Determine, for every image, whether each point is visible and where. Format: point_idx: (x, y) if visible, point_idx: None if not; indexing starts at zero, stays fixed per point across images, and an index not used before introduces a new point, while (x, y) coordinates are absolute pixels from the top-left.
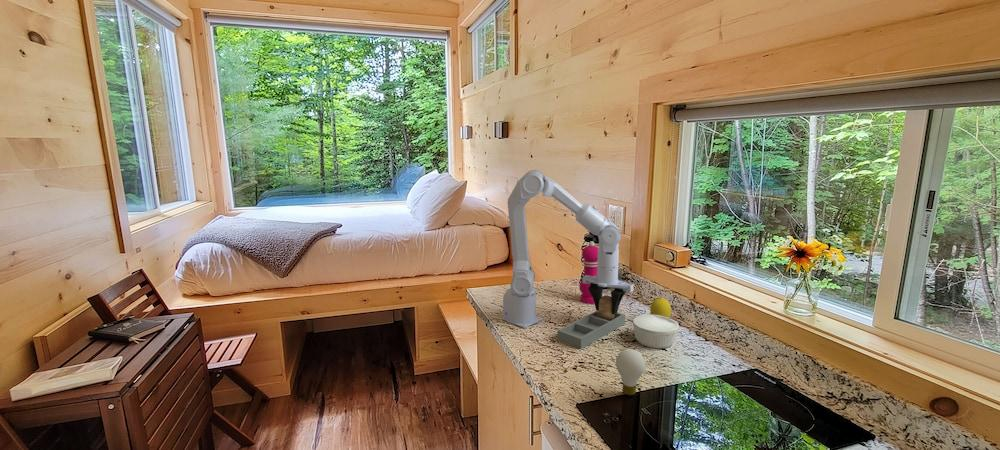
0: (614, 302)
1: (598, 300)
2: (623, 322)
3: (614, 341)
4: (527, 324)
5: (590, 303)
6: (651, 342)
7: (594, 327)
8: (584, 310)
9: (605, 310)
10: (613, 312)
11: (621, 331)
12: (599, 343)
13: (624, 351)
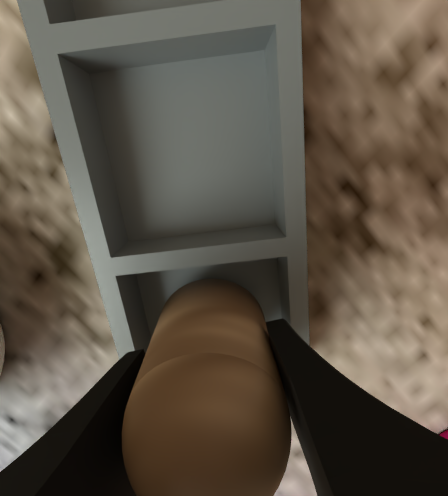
0: (40, 450)
1: (294, 404)
2: None
3: (4, 151)
4: None
5: (444, 433)
6: None
7: (199, 186)
8: (422, 353)
9: (170, 331)
10: (123, 360)
11: (92, 292)
12: (26, 38)
13: None
